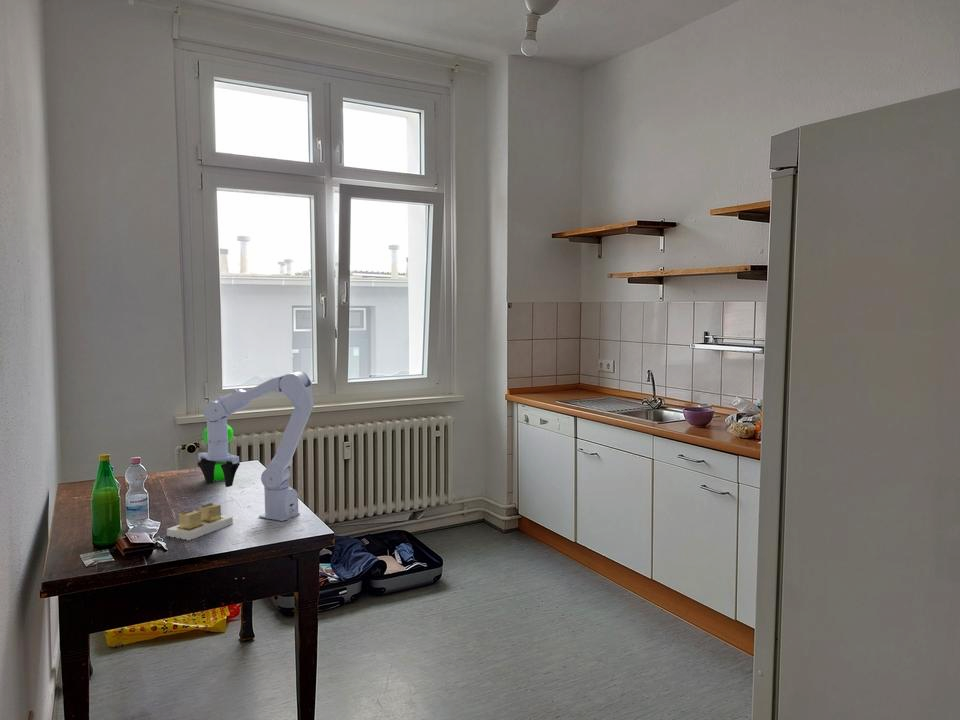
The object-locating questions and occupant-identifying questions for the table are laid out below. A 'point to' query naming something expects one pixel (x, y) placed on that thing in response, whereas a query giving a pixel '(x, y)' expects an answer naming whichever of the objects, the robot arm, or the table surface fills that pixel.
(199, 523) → the seated billet
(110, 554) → the table surface
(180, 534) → the tray
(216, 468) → the plastic bottle
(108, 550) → the table surface
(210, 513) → the brass billet
